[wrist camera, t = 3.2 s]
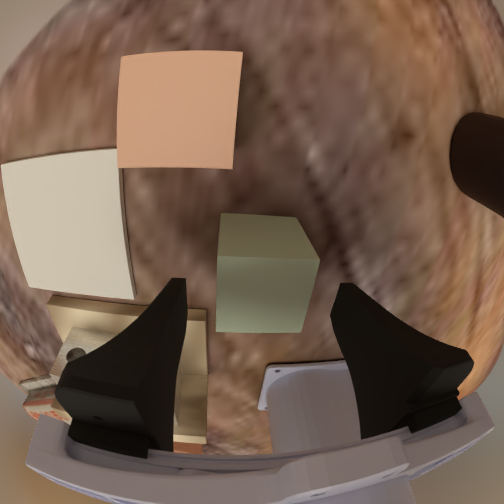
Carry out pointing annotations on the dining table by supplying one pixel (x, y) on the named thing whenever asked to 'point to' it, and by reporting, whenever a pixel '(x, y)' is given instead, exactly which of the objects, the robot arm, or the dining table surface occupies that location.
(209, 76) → the terracotta block
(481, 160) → the bottle
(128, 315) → the beige box
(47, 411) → the packaged product
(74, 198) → the mat
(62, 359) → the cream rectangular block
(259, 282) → the sage block
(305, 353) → the dining table surface
